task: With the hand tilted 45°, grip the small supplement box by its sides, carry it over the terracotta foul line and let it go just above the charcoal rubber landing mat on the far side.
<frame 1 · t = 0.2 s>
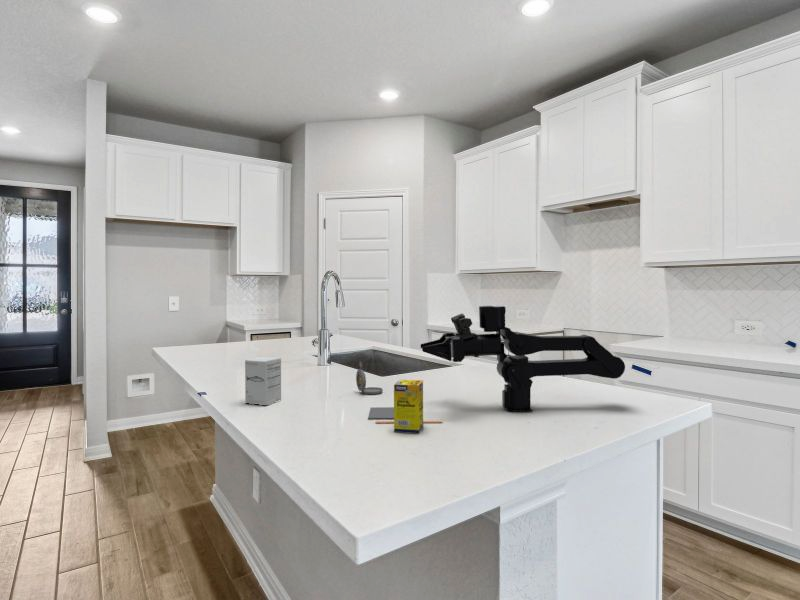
hand: (421, 347, 126), 17 cm above the worktop, tool horizontal, fingers open, 9 cm apart
supplement box 2: (263, 403, 136), on the worktop
foul line: (408, 422, 114), on the worktop
landing mat: (392, 413, 122), on the worktop
supplement box: (409, 430, 109), on the worktop
pocket watch: (368, 393, 146), on the worktop
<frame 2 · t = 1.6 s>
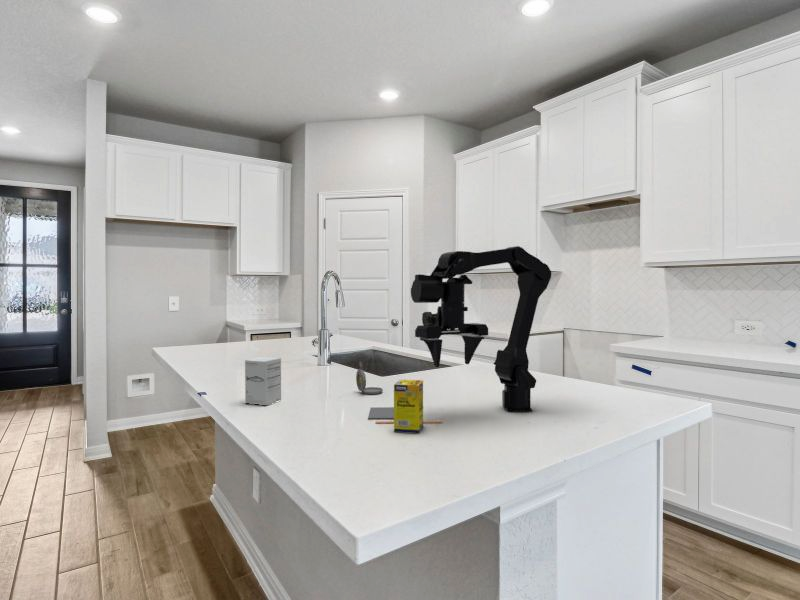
hand: (452, 365, 118), 13 cm above the worktop, tool pointing down, fingers open, 9 cm apart
nothing on the worktop moved.
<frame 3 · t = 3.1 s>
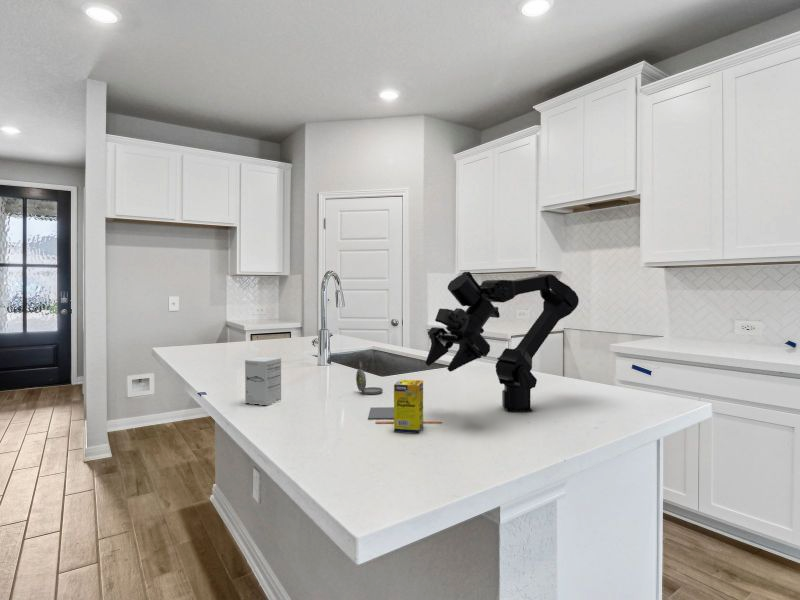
hand: (437, 367, 113), 13 cm above the worktop, tool tilted 45°, fingers open, 9 cm apart
nothing on the worktop moved.
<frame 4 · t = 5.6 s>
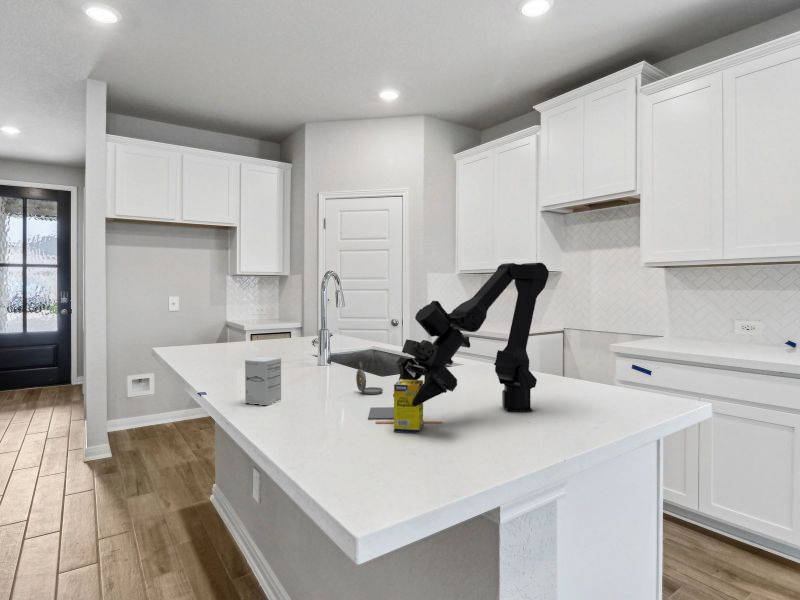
hand: (403, 401, 109), 7 cm above the worktop, tool tilted 45°, fingers closed on supplement box, 8 cm apart
supplement box: (409, 430, 109), on the worktop, touching gripper
everything else where it was.
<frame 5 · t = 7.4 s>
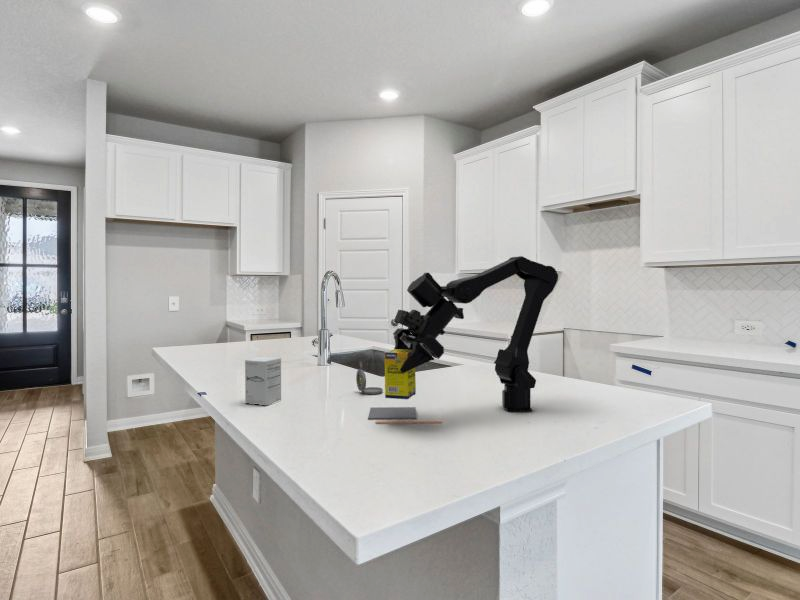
hand: (394, 368, 113), 13 cm above the worktop, tool tilted 45°, fingers closed on supplement box, 8 cm apart
supplement box: (400, 397, 114), point 6 cm above the worktop, touching gripper
everything else where it was.
when the fingers open (8 cm above the worktop, at t = 9.4 s): supplement box drops 1 cm, resting on landing mat.
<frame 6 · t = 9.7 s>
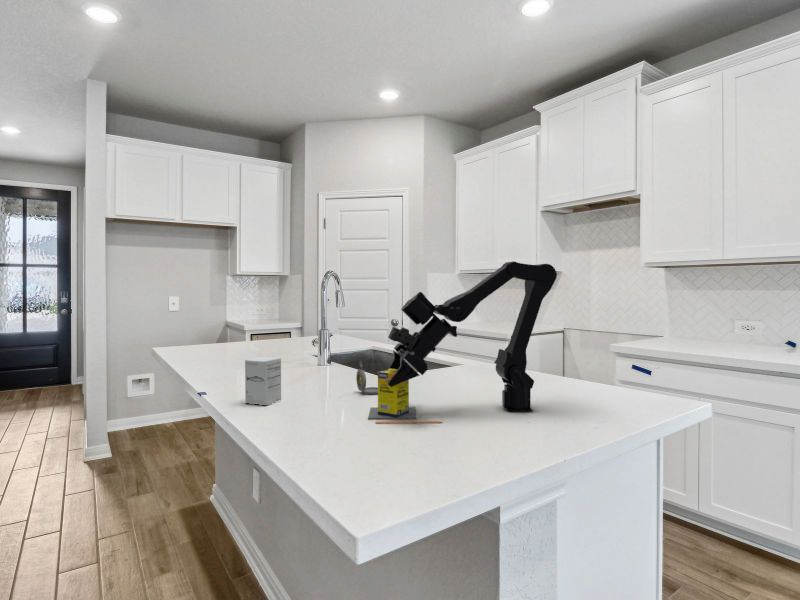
hand: (386, 381, 121), 9 cm above the worktop, tool tilted 45°, fingers open, 9 cm apart
supplement box: (393, 414, 121), resting on landing mat
everything else where it was.
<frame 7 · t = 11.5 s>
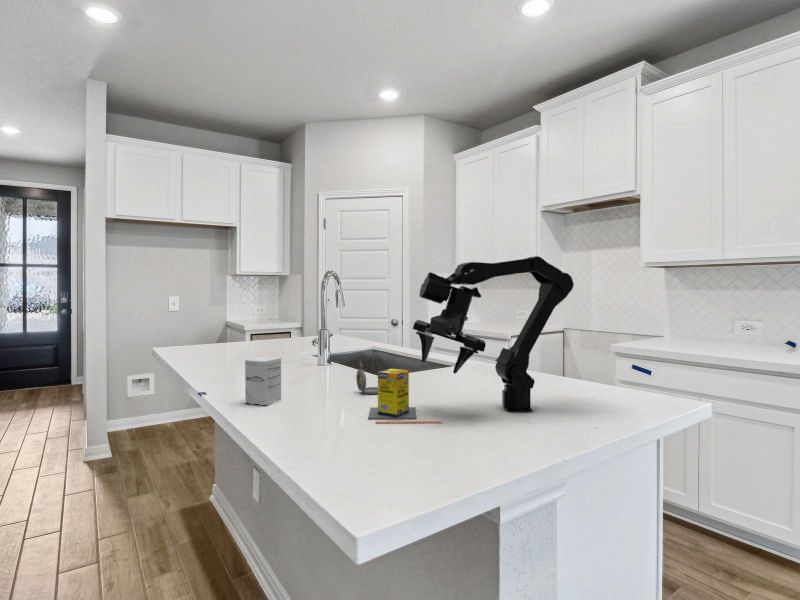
hand: (438, 367, 122), 12 cm above the worktop, tool tilted 20°, fingers open, 9 cm apart
nothing on the worktop moved.
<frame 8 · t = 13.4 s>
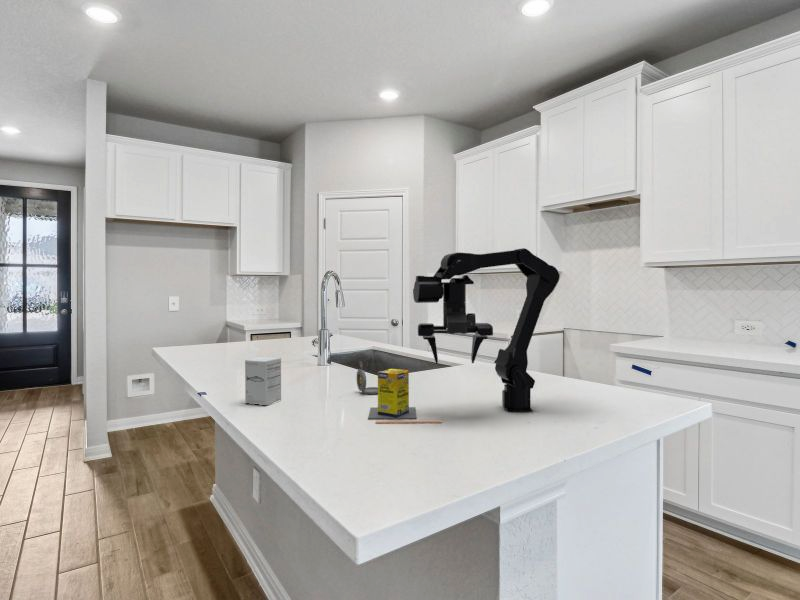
hand: (454, 363, 122), 13 cm above the worktop, tool pointing down, fingers open, 9 cm apart
nothing on the worktop moved.
at the end: supplement box inside the target area (2.2 cm from its centre), resting on landing mat; supplement box tilted 0°; the gripper is holding nothing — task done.
